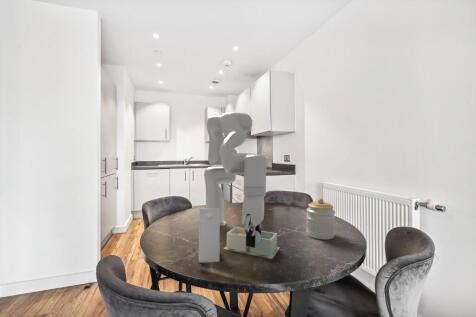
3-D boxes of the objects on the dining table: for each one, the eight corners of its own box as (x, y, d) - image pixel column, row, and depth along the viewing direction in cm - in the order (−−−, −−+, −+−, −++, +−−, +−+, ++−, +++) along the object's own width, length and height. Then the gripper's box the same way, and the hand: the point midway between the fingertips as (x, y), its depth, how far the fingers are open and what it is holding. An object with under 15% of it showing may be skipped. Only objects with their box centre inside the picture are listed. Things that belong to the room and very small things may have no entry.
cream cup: (226, 247, 90) (226, 232, 90) (235, 240, 97) (235, 226, 97) (245, 251, 86) (245, 236, 86) (253, 243, 94) (253, 229, 94)
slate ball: (243, 246, 76) (244, 231, 76) (249, 240, 81) (249, 227, 81) (257, 249, 74) (258, 234, 74) (262, 243, 79) (263, 229, 79)
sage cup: (250, 252, 86) (250, 236, 86) (257, 244, 93) (257, 230, 93) (270, 256, 82) (271, 240, 82) (276, 248, 90) (277, 233, 89)
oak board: (223, 251, 89) (223, 248, 89) (235, 242, 99) (235, 239, 99) (272, 262, 81) (272, 258, 80) (280, 250, 90) (280, 247, 90)
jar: (301, 235, 108) (301, 198, 107) (313, 228, 117) (313, 195, 117) (328, 242, 99) (329, 202, 99) (339, 235, 108) (339, 198, 108)
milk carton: (200, 256, 85) (200, 206, 84) (219, 256, 85) (219, 205, 85) (198, 266, 78) (198, 210, 77) (219, 265, 78) (219, 210, 78)
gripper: (253, 186, 86) (252, 233, 87) (233, 194, 71) (232, 251, 71) (272, 188, 83) (271, 236, 84) (256, 196, 67) (254, 256, 68)
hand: (253, 242), depth 78 cm, fingers closed on slate ball, 4 cm apart
